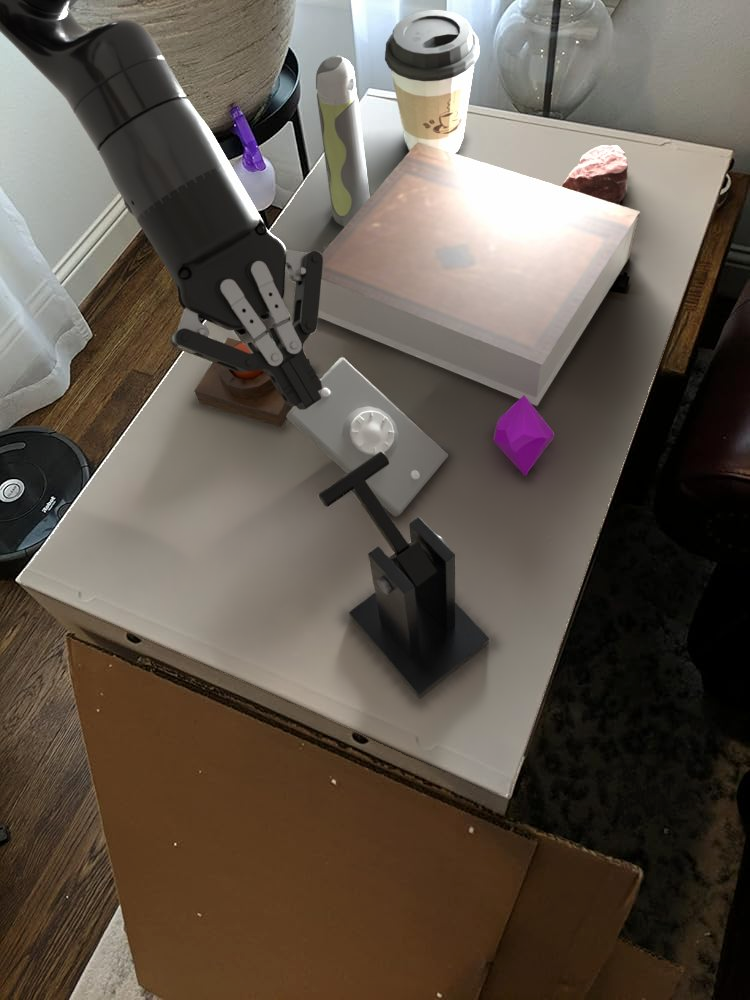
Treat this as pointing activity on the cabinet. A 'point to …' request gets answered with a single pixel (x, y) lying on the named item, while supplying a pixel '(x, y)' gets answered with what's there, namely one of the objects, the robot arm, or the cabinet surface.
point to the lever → (382, 519)
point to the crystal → (522, 434)
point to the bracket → (418, 616)
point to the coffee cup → (432, 76)
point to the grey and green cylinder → (342, 138)
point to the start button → (251, 373)
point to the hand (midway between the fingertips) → (310, 403)
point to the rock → (600, 174)
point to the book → (476, 268)
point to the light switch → (369, 435)
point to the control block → (242, 394)
